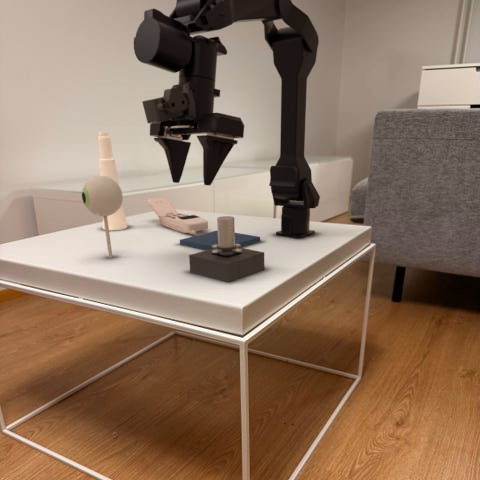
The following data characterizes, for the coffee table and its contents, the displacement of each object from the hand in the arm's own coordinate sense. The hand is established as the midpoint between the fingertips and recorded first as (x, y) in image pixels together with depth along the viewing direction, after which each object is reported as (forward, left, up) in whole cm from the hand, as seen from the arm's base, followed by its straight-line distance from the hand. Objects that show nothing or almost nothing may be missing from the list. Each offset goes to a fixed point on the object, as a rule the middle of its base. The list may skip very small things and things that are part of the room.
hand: (190, 183), depth 77 cm
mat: (-15, -9, -14) cm, 22 cm away
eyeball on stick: (+6, -18, -14) cm, 23 cm away
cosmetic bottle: (-11, -41, -14) cm, 44 cm away
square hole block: (-1, +6, -14) cm, 16 cm away
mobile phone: (-21, -29, -14) cm, 38 cm away
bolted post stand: (-1, +6, -14) cm, 16 cm away
